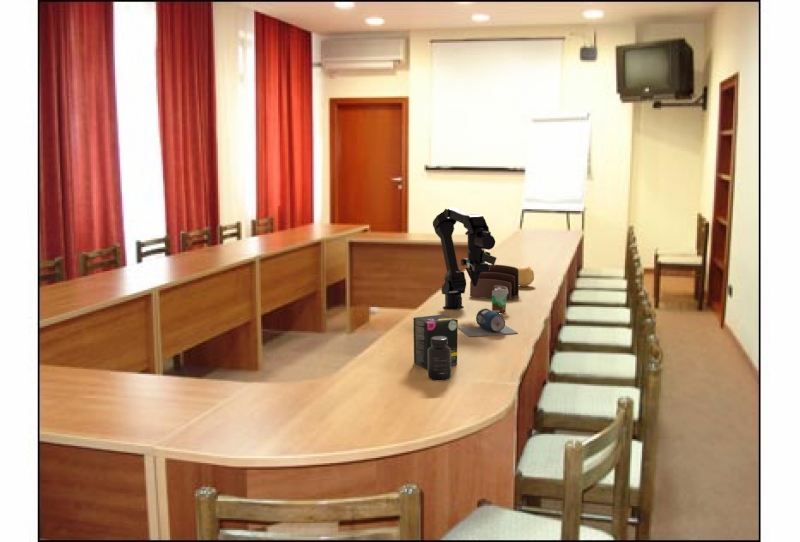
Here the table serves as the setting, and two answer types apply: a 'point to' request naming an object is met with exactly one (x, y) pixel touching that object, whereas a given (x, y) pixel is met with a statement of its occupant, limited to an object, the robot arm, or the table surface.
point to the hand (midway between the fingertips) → (474, 285)
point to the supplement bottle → (439, 359)
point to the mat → (485, 331)
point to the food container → (499, 299)
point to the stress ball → (525, 276)
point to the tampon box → (434, 327)
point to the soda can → (490, 320)
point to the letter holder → (497, 281)
